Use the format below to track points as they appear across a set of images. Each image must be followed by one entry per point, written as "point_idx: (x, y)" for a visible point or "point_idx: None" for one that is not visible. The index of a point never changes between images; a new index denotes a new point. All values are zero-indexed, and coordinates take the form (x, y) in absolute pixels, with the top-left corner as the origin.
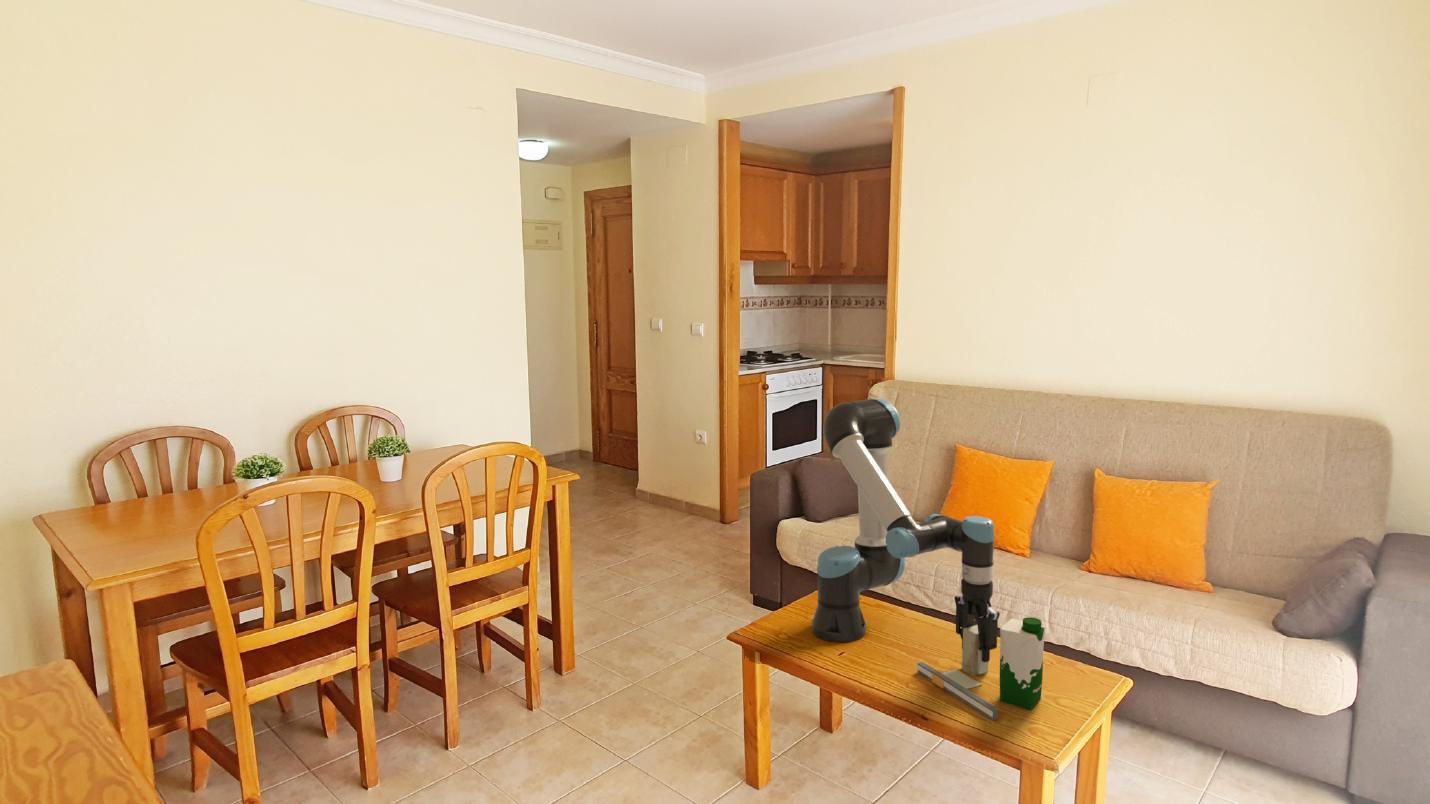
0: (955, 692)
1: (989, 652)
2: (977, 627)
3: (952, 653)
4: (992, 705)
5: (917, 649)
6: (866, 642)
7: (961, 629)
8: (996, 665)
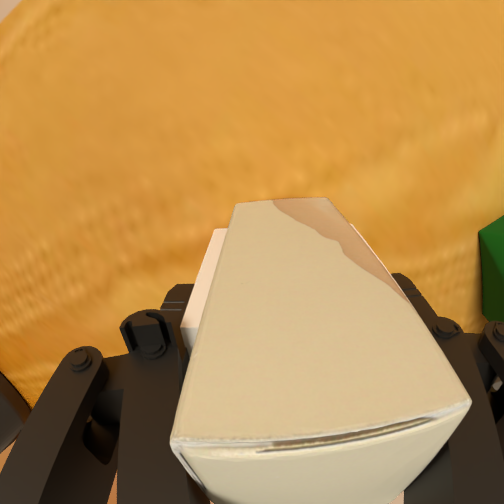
0: None
1: (433, 313)
2: (294, 490)
3: (83, 228)
4: (498, 382)
5: (45, 322)
6: (22, 384)
7: (105, 414)
8: (286, 97)
